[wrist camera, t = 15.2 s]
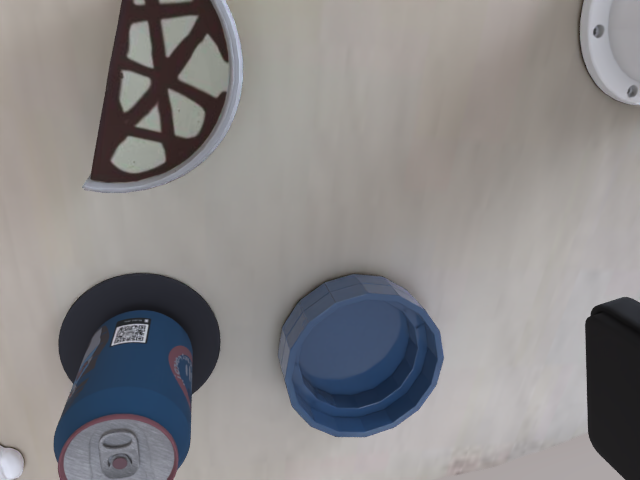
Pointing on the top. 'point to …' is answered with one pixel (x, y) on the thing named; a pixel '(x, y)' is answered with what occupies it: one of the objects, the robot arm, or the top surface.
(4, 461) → the astronaut figurine
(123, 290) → the coaster
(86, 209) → the top surface
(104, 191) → the food container
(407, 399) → the bowl
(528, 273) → the top surface
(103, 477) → the soda can
